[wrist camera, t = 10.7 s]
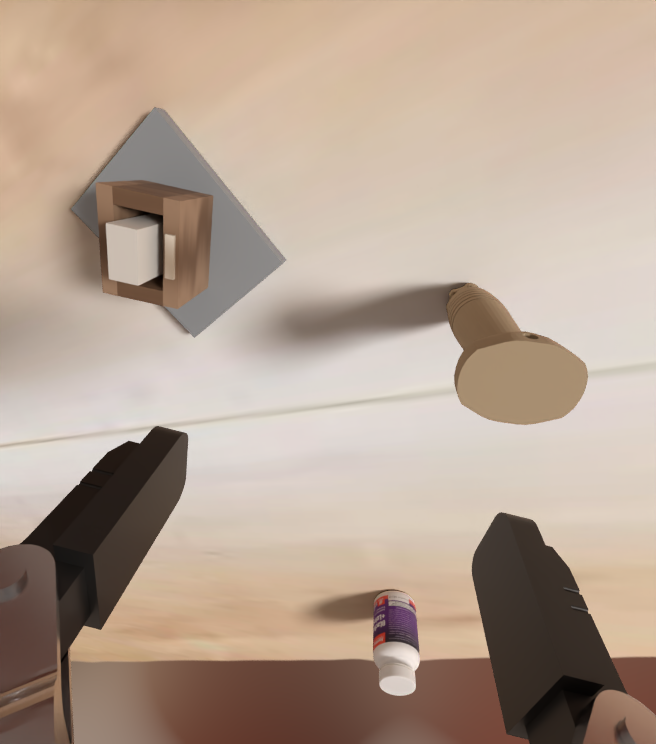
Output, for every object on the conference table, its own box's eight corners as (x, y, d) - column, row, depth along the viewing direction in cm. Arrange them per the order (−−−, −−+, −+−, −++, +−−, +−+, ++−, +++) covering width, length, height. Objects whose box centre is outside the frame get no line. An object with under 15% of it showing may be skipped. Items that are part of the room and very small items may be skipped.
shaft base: (164, 109, 30) (83, 87, 22) (286, 259, 34) (256, 289, 26) (82, 207, 34) (-13, 220, 26) (200, 331, 38) (151, 378, 30)
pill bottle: (376, 585, 52) (376, 668, 43) (418, 592, 52) (427, 677, 43) (370, 611, 55) (369, 695, 46) (410, 618, 54) (417, 703, 46)
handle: (495, 331, 35) (566, 431, 22) (421, 322, 36) (448, 414, 22) (512, 277, 33) (602, 351, 20) (433, 267, 33) (470, 333, 20)
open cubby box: (143, 180, 31) (92, 182, 26) (213, 195, 31) (177, 201, 26) (144, 273, 35) (100, 293, 29) (208, 287, 35) (175, 310, 29)
